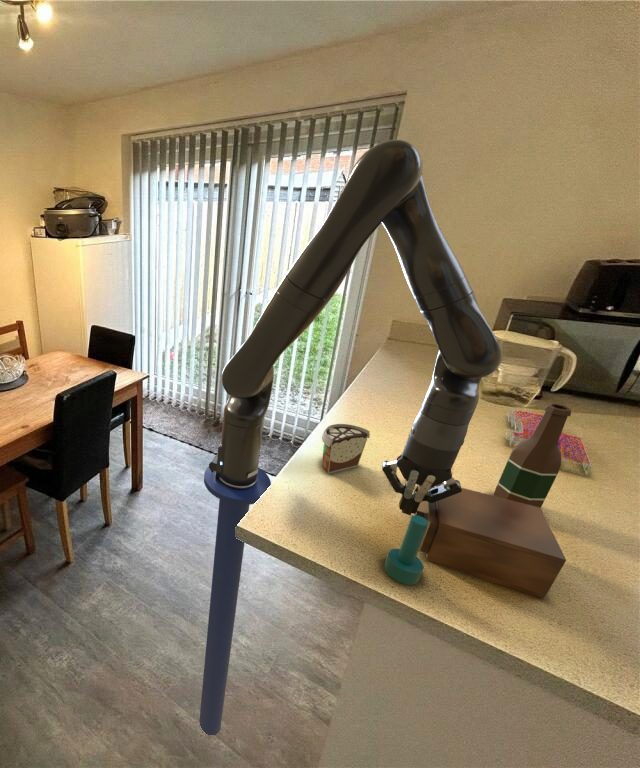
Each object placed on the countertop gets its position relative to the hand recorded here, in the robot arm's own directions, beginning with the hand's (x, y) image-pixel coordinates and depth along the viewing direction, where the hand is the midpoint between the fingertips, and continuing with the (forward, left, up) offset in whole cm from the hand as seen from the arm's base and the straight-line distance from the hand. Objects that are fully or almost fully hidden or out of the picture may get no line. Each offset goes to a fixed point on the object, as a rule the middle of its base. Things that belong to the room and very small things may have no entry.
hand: (405, 511), depth 77 cm
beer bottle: (+21, +20, -5) cm, 29 cm away
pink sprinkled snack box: (+33, +57, -4) cm, 66 cm away
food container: (-14, +18, -5) cm, 23 cm away
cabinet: (+12, 0, -4) cm, 13 cm away
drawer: (+10, 0, -3) cm, 10 cm away
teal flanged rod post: (0, -12, -4) cm, 13 cm away
